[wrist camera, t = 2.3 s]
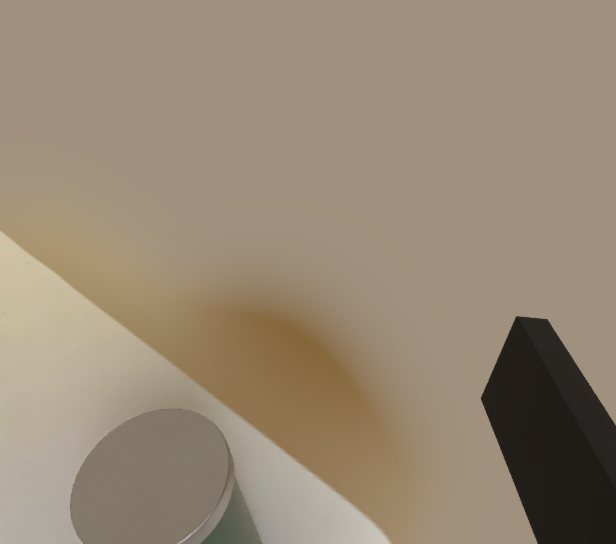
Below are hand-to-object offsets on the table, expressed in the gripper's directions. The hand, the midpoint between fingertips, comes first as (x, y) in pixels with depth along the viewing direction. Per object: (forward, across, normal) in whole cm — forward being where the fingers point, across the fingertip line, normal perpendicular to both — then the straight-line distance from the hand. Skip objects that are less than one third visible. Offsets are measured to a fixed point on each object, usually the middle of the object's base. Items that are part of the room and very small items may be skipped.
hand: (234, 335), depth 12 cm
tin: (+5, -1, -20) cm, 21 cm away
